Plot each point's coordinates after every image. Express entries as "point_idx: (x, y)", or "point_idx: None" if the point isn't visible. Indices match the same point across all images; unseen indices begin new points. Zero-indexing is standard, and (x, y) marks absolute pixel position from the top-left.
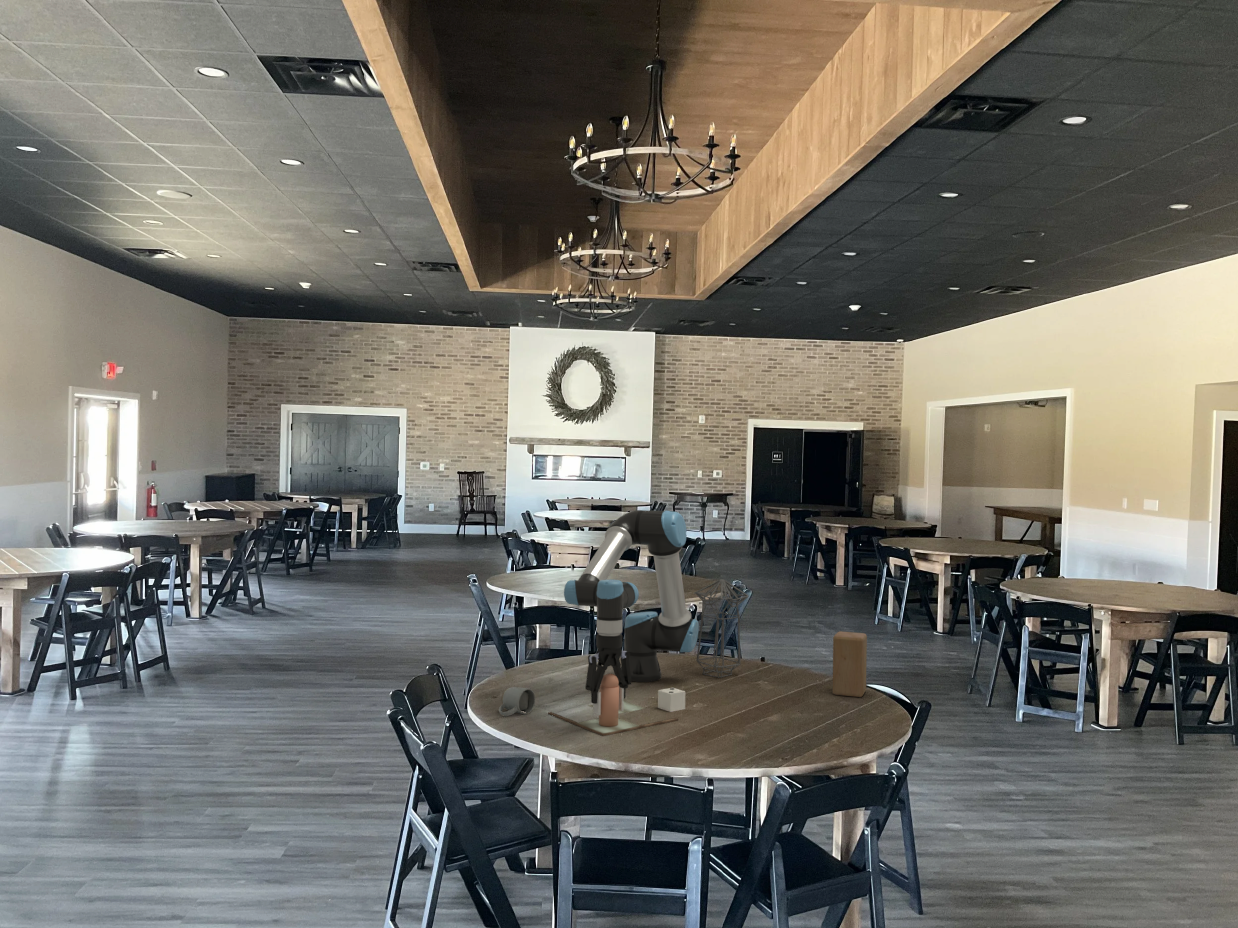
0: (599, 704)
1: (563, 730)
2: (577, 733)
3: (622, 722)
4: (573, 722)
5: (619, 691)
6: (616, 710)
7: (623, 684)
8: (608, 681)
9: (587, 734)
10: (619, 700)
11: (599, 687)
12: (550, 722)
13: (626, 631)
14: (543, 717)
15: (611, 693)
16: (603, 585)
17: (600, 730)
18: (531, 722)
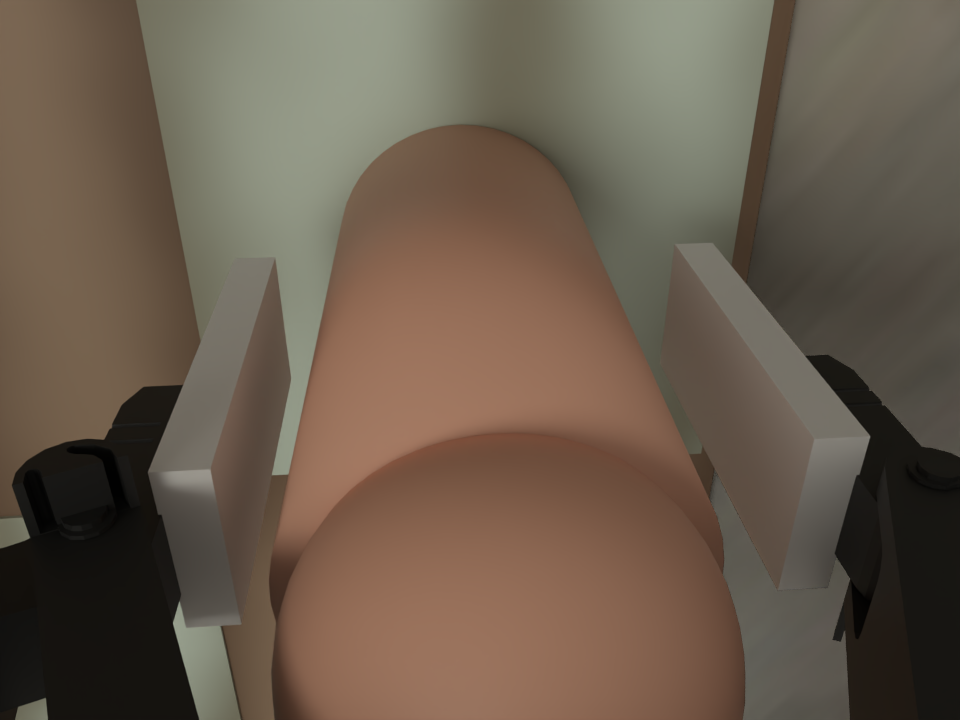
0: (752, 314)
1: (937, 351)
2: (928, 188)
3: (264, 210)
4: (710, 480)
5: (235, 487)
6: (430, 199)
7: (131, 541)
8: (700, 593)
9: (883, 89)
10: (261, 383)
11: (891, 519)
12: (818, 592)
13: None
14: (752, 709)
15: (584, 351)
16: None
17: (722, 70)
18: None
